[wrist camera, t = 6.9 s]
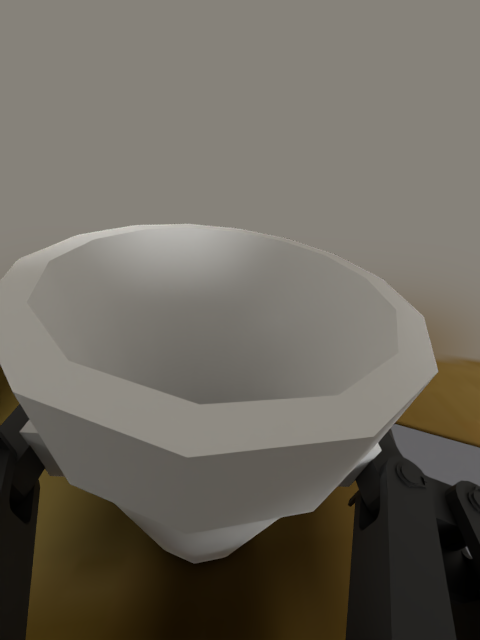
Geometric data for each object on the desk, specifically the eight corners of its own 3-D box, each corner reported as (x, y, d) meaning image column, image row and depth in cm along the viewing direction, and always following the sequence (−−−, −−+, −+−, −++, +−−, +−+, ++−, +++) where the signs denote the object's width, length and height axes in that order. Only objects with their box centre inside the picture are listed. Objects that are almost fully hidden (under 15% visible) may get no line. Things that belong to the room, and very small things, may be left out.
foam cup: (153, 403, 17) (131, 212, 10) (279, 419, 18) (344, 243, 10) (69, 607, 9) (-318, 397, 2) (298, 630, 10) (635, 510, 2)
